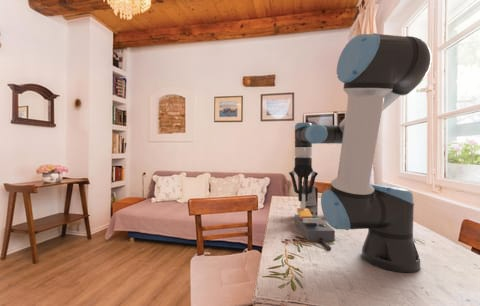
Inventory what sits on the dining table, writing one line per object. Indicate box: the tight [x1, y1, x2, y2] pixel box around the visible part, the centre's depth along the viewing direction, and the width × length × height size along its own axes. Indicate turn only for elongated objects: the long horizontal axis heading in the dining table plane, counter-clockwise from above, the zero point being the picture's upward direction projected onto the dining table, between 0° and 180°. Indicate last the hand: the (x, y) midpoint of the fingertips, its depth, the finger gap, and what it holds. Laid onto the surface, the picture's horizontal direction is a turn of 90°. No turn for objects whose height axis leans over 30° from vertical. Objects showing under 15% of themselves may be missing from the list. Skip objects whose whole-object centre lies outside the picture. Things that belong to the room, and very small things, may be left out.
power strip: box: [294, 214, 336, 251], centre depth 94 cm, size 30×10×5 cm, turn 0°
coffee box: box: [302, 184, 319, 216], centre depth 117 cm, size 9×6×16 cm
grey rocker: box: [303, 218, 321, 223], centre depth 93 cm, size 7×5×2 cm
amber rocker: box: [296, 207, 313, 220], centre depth 103 cm, size 7×5×2 cm
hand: (302, 208), depth 106 cm, fingers closed
